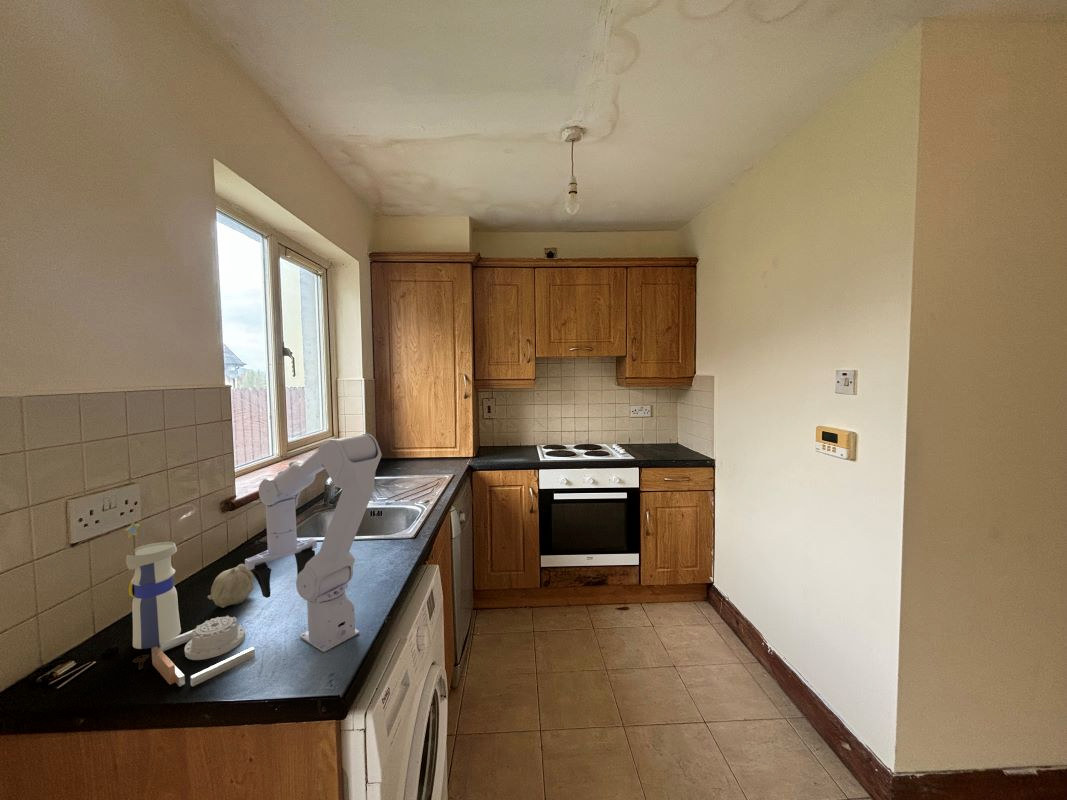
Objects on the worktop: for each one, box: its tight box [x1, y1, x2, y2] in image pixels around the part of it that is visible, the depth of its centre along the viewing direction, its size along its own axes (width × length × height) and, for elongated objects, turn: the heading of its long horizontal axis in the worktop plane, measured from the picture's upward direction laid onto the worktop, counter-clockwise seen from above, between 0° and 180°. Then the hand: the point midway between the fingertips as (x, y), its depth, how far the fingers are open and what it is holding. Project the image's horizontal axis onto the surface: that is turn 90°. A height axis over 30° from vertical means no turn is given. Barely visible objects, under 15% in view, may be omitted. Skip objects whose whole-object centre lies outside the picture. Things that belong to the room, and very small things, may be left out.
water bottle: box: [125, 521, 182, 650], centre depth 90 cm, size 8×9×25 cm
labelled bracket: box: [151, 629, 256, 687], centre depth 84 cm, size 18×12×3 cm
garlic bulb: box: [207, 563, 255, 609], centre depth 105 cm, size 9×8×10 cm
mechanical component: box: [184, 615, 246, 661], centre depth 88 cm, size 10×4×10 cm
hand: (284, 588), depth 97 cm, fingers open, 7 cm apart
